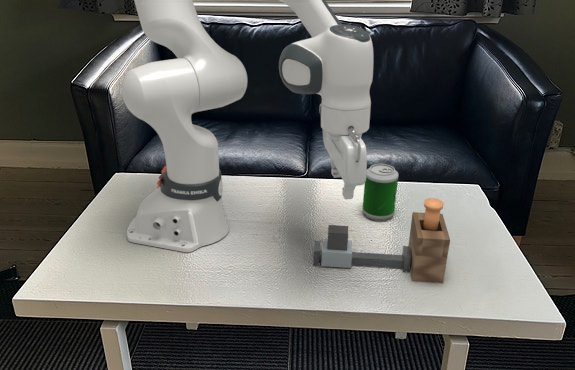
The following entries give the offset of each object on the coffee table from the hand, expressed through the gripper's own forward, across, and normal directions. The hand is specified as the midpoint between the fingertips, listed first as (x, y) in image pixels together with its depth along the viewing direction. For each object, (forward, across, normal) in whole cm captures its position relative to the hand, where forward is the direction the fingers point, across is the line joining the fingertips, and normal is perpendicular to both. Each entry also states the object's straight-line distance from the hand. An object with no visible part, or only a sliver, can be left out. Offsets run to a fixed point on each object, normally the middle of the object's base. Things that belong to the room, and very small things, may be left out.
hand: (341, 186), depth 109 cm
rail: (+18, -1, -5) cm, 18 cm away
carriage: (+18, 0, 0) cm, 18 cm away
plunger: (+9, -4, -17) cm, 20 cm away
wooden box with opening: (+18, -4, -17) cm, 25 cm away
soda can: (+18, +18, -14) cm, 29 cm away
